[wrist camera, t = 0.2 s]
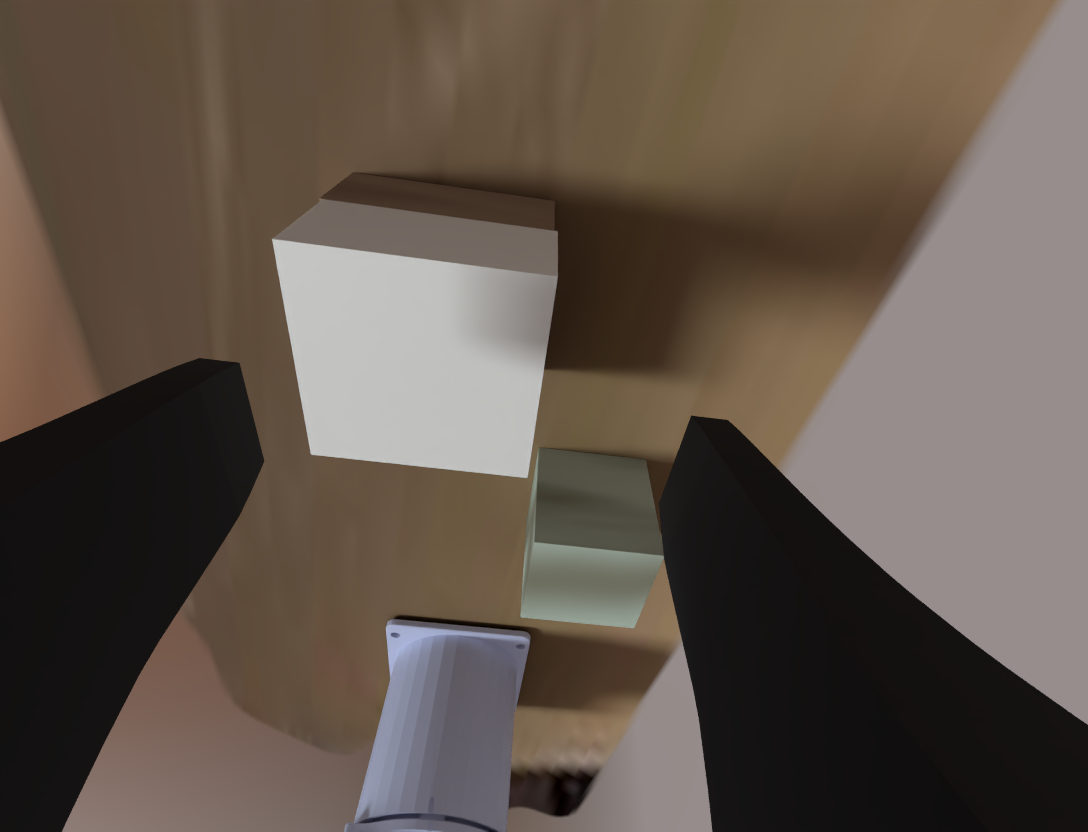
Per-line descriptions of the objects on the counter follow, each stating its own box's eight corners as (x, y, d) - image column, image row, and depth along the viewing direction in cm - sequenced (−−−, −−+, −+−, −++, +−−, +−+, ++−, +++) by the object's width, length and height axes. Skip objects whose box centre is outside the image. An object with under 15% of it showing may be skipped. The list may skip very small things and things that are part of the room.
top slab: (531, 414, 17) (527, 477, 15) (345, 392, 17) (310, 454, 15) (557, 231, 14) (557, 276, 11) (323, 198, 13) (272, 239, 11)
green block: (622, 529, 25) (633, 628, 21) (526, 519, 25) (520, 617, 21) (645, 458, 22) (664, 556, 18) (538, 446, 22) (534, 542, 18)
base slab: (532, 365, 20) (529, 413, 17) (369, 345, 19) (342, 392, 17) (555, 198, 16) (554, 230, 14) (355, 170, 16) (319, 198, 13)
